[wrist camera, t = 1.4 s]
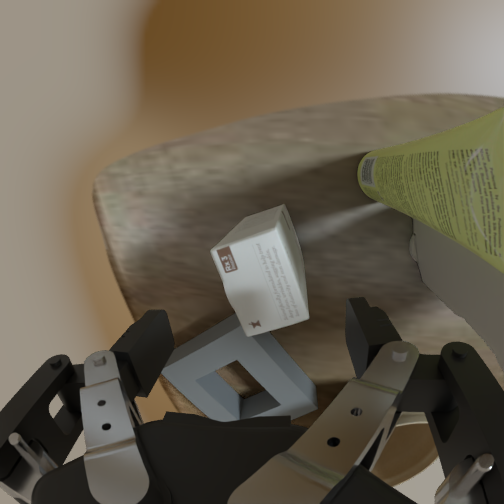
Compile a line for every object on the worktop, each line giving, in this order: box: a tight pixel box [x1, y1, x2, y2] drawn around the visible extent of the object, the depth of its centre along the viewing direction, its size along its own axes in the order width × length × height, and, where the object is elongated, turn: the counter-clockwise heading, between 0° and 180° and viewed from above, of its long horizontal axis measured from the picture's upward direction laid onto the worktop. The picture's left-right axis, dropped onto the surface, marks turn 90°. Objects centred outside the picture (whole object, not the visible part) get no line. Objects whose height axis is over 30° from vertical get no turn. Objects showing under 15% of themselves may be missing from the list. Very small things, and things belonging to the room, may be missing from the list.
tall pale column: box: [409, 218, 504, 372], centre depth 15 cm, size 11×4×22 cm, turn 19°
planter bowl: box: [371, 412, 439, 487], centre depth 27 cm, size 16×16×11 cm
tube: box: [357, 107, 504, 274], centre depth 15 cm, size 6×5×20 cm
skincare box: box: [210, 204, 310, 337], centre depth 22 cm, size 6×4×12 cm
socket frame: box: [161, 313, 318, 422], centre depth 31 cm, size 12×14×4 cm
